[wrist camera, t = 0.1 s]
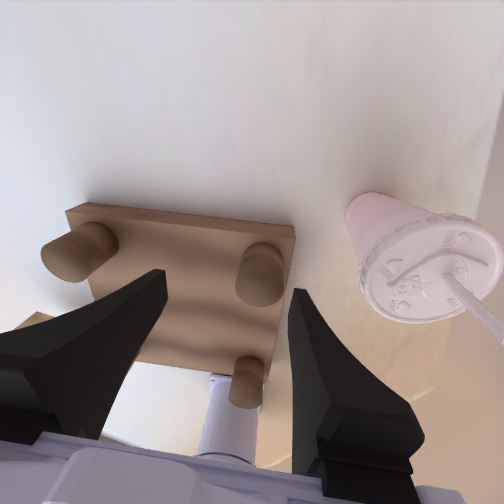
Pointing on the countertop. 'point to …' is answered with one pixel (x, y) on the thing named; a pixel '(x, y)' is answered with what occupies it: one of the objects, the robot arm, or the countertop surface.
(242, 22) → the countertop surface
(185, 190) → the countertop surface
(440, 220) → the smoothie
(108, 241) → the stool seat
